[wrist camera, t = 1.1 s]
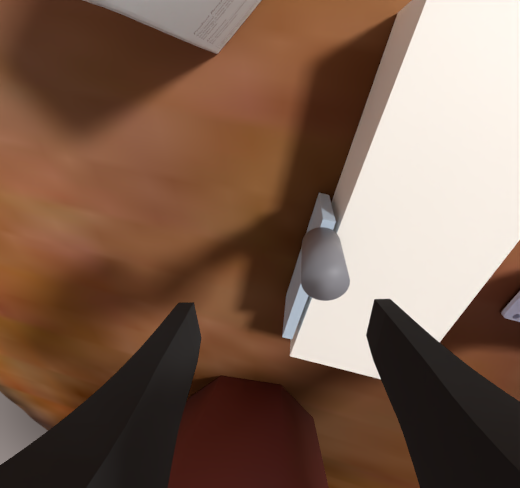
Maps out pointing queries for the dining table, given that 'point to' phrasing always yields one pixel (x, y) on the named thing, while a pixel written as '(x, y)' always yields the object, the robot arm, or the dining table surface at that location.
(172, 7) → the supplement box
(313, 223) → the flap
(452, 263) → the carton
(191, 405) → the bucket
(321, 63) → the dining table surface
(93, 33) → the dining table surface
